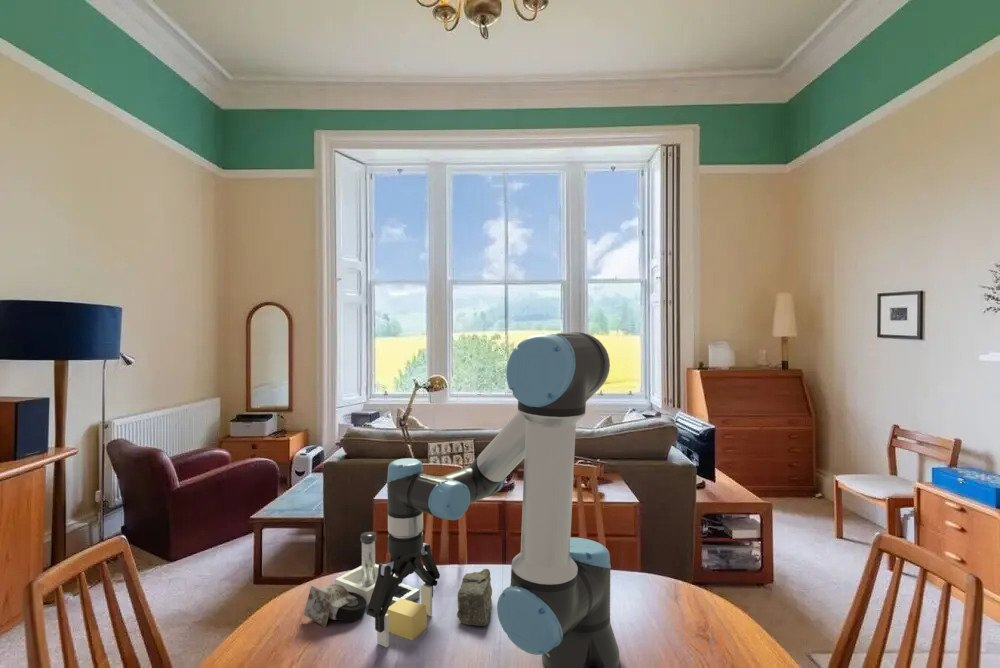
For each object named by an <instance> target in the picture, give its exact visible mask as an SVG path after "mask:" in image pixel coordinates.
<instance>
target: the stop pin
mask: <svg viewBox="0 0 1000 668" xmlns="http://www.w3.org/2000/svg"><path fill="white" fill-rule="evenodd" d="M376 541H377V533H376V532H374V531H365V532H362V533H361V534H360V542H361V566H362V586H363V587H366V588H368V587H370V586H371V585H373V584H375V564H376Z"/></svg>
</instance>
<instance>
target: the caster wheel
mask: <svg viewBox="0 0 1000 668" xmlns="http://www.w3.org/2000/svg"><path fill="white" fill-rule="evenodd" d="M366 608H367V606H366V600H365V599H364V597H362V596H361V595H359V594H357V593H354V592H348V591H347V590H346V589H345V588H344V587H343V586H341V585H338V584H335V583H334V584H329V585H326V586H324V587H321V588H317V587H315V586H314V585H311V586H310V589H309V593H308V597H307V601H306V605H305V609H304V612H303V615H304V616H305V617H307V618H308V619H309V620H312V621H313V622H315V623H316V624H319V625H320V626H322V627H324V628H327V624H328V620H329V619H331V620H336V621H337V620H339V621H345V622H354V621H357V620H360V619H361V618H362V617H364V615H365V611H366Z"/></svg>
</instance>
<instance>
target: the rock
mask: <svg viewBox="0 0 1000 668" xmlns="http://www.w3.org/2000/svg"><path fill="white" fill-rule="evenodd" d="M491 580H492V578H491V572H490V569H488V568H484V569H482V570H481V571H474V572H470V573H465V574H464V576H463V578H462V581H461V584H460V587H459V589H458V592H457V613H456V617H457V618H458V620H459V621H460V623H462V624H463V625H467V626H478V627H479V626H481V627H484V626H487V625H488V624H489V620H490V618H491V616H492V607H493V606H492V596H493V588H492V585H491V582H492V581H491Z"/></svg>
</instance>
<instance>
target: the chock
mask: <svg viewBox="0 0 1000 668" xmlns="http://www.w3.org/2000/svg"><path fill="white" fill-rule="evenodd" d="M400 598H401V597H400ZM386 614H389V634H390V633H392V634H394V635H396V636H399V637H401V638H405V639H408V640H410V641H413V640H414V639H416V638H417V637H418V636H420V635H421V633H423V632H424V631H425V630H426V629H427V621H428V620H427V616H428V615H426V606H425V605H421V603H417V602H415V601H414V602H412V601H409V600H405V599H402V598H401V599H399V600H398V601H397V602H395V603H394V604H392V605H391V606H390V607H389V608H388V610H387V612H386Z"/></svg>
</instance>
